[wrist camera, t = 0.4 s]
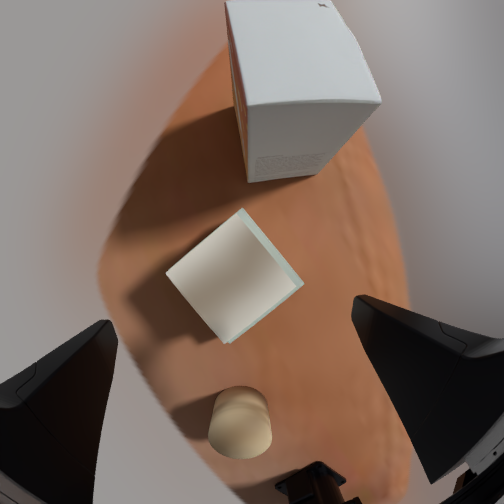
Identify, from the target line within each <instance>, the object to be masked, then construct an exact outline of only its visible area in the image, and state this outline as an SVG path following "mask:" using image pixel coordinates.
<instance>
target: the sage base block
mask: <svg viewBox="0 0 504 504" xmlns="http://www.w3.org/2000/svg"><path fill="white" fill-rule="evenodd" d="M235 214H236V213H235ZM235 214H234V215H235ZM234 215H233V216H234ZM237 215H238V216H239V217H240V218H241V219H242V221H243V222H244V223H245V224H246V225H247V227H248V228H249V229H250V230H251V232H252V233H253V234H254V235H255V236H256V238H257V239H258V240H259V241H260V242H261V244H262V245H263V246H264V247H265V249H266V250H267V251H268V252H269V253H270V255H271V256H272V257H273V258H274V260H275V261H276V262H277V263H278V264H279V266H280V267H281V268H282V269H283V271H284V272H285V273H286V274H287V275H288V277H289V278H290V279H291V280H292V282H293V283H294V284H295V285H296V287H295V288H294V289H293V290H292V291H290V292H289V293H288V294H287V295H286V296H284V297H283V298H282V299H281V300H280V301H278V302H277V303H276V304H275V305H273V306H272V307H271V308H270V309H268V310H267V311H266V312H265V313H264V314H262V315H261V316H260V317H258V318H257V319H256V320H255V321H253V322H252V323H251V324H250V325H248V326H247V327H246V328H244V329H243V330H242V331H241V332H239V333H238V334H237V335H235V336H234V337H233V338H232V339H230V340H229V341H228V343H229V344H230V343H231V342H232V341H234V340H235V339H236V338H238V337H239V336H240V335H242V334H243V333H244V332H246V331H247V330H248V329H249V328H251V327H252V326H253V325H255V324H256V323H257V322H258V321H260V320H261V319H262V318H263V317H265V316H266V315H267V314H268V313H270V312H271V311H272V310H273V309H275V308H276V307H277V306H278V305H280V304H281V303H282V302H283V301H284V300H286V299H287V298H288V297H289V296H291V295H292V294H293V293H294V292H295V291H297V290H298V289H299V288H300V287H301V286H303V285H304V282H303V281H302V280H301V279H300V277H299V276H298V275H297V274H296V272H295V271H294V270H293V269H292V267H291V266H290V265H289V264H288V263H287V261H286V260H285V259H284V258H283V256H282V255H281V254H280V253H279V251H278V250H277V249H276V248H275V247H274V245H273V244H272V243H271V242H270V240H269V239H268V238H267V237H266V236H265V234H264V233H263V232H262V231H261V229H260V228H259V227H258V226H257V225H256V223H255V222H254V221H253V220H252V219H251V217H250V216H249V215H248V214H247V213H246V211H245V210H244V209H243V208H241V209H240V210H239V211H238V212H237ZM233 216H232V217H233ZM230 218H231V217H230ZM230 218H229V219H230ZM229 219H228V220H229ZM228 220H227V221H228ZM225 222H226V221H225ZM225 222H224V223H225ZM224 223H223V224H224ZM223 224H222V225H223ZM222 225H221V226H222ZM219 227H220V226H219ZM219 227H218V228H219ZM218 228H217V229H218ZM217 229H216V230H217ZM213 232H214V231H213ZM213 232H212V233H213ZM212 233H211V234H212ZM211 234H210V235H211ZM207 237H208V236H207ZM207 237H206V238H207ZM206 238H205V239H206ZM205 239H204V240H205ZM201 242H202V241H201ZM201 242H200V243H201ZM200 243H199V244H200ZM199 244H198V245H199ZM198 245H197V246H198ZM195 247H196V246H195ZM195 247H194V248H195ZM194 248H193V249H194ZM193 249H192V250H193ZM192 250H191V251H192ZM188 253H189V252H188ZM188 253H187V254H188ZM187 254H186V255H187ZM186 255H185V256H186ZM185 256H184V257H185ZM181 259H182V258H181ZM181 259H180V260H181ZM180 260H179V261H180ZM179 261H178V262H179ZM178 262H177V263H178ZM174 265H175V264H174ZM174 265H173V266H174ZM173 266H172V267H173ZM172 267H171V268H172ZM171 268H170V269H171ZM170 269H169V270H170Z"/></svg>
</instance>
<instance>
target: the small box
mask: <svg viewBox="0 0 504 504" xmlns="http://www.w3.org/2000/svg"><path fill="white" fill-rule="evenodd" d="M225 14H226V24H227V35H228V46H229V57H230V68H231V78H232V92H233V102H234V109H235V113H236V117H237V122H238V128H239V133H240V139H241V145H242V151H243V157H244V163H245V170H246V176H247V182H248V183H253V182H259V181H266V180H273V179H281V178H289V177H297V176H306V175H316V174H318V173H319V172H320V171H321V170H322V169H323V168H324V166H325V165H326V164H327V163H328V162H329V161H330V160H331V159H332V158H333V156H334V155H335V154H336V153H337V152H338V151H339V150H340V148H341V147H342V146H343V145H344V144H345V143H346V142H347V141H348V140H349V139H350V138H351V136H352V135H353V134H354V133H355V132H356V131H357V130H358V129H359V127H360V126H361V125H362V124H363V123H364V122H365V121H366V120H367V119H368V117H370V115H371V114H372V113H373V112H374V111H375V110H376V109H377V108H378V107H379V106H380V105H381V103H382V100H381V97H380V94H379V91H378V88H377V86H376V84H375V81H374V79H373V76H372V74H371V72H370V69H369V67H368V65H367V63H366V61H365V58H364V56H363V54H362V51H361V49H360V47H359V44H358V42H357V40H356V38H355V37H354V35H353V34H352V32H351V30H350V29H349V28H348V26H347V25H346V23H345V21H344V20H343V18H342V16H341V15H340V13H339V12H338V10H337V9H336V7H335V5H334V4H333V2H332V1H329V0H233V1H226V2H225Z"/></svg>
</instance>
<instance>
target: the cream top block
mask: <svg viewBox="0 0 504 504" xmlns="http://www.w3.org/2000/svg"><path fill="white" fill-rule="evenodd" d="M166 275H167V276H168V277H169V279H170V280H171V281H172V282H173V284H174V285H175V286H176V287H177V289H178V290H179V291H180V292H181V294H182V295H183V296H184V297H185V299H186V300H187V301H188V302H189V303H190V305H191V306H192V307H193V308H194V309H195V311H196V312H197V313H198V314H199V315H200V317H201V318H202V319H203V320H204V321H205V322H206V324H207V325H208V326H209V327H210V328H211V329H212V331H213V332H214V333H215V334H216V335H217V336H218V337H219V338H220V340H221V341H222V342H223V343H224V344H225V343H226V342H228V341H229V340H230V339H232V338H233V337H234V336H235V335H237V334H238V333H239V332H241V331H242V330H243V329H244V328H246V327H247V326H248V325H250V324H251V323H252V322H253V321H255V320H256V319H257V318H258V317H260V316H261V315H262V314H264V313H265V312H266V311H267V310H268V309H270V308H271V307H272V306H273V305H275V304H276V303H277V302H278V301H280V300H281V299H282V298H283V297H284V296H286V295H287V294H288V293H289V292H290V291H292V290H293V289H294V288H295V287H296V285H295V284H294V283H293V282H292V280H291V279H290V278H289V277H288V275H287V274H286V273H285V272H284V271H283V269H282V268H281V267H280V266H279V264H278V263H277V262H276V261H275V260H274V258H273V257H272V256H271V255H270V253H269V252H268V251H267V250H266V249H265V247H264V246H263V245H262V244H261V242H260V241H259V240H258V239H257V238H256V236H255V235H254V234H253V233H252V232H251V230H250V229H249V228H248V227H247V225H246V224H245V223H244V222H243V221H242V219H241V218H240V217H239V216H238V215H237V213H236V214H235V215H234V216H233V217H231V218H230V219H229V220H228V221H226V222H225V223H224V224H223V225H222V226H220V227H219V228H218V229H217V230H215V231H214V232H213V233H212V234H211V235H209V236H208V237H207V238H206V239H205V240H203V241H202V242H201V243H200V244H199V245H198V246H196V247H195V248H194V249H193V250H192V251H190V252H189V253H188V254H187V255H186V256H185V257H183V258H182V259H181V260H180V261H179V262H178V263H176V264H175V265H174V266H173V267H172V268H171V269H170V270H168V271H167V272H166Z"/></svg>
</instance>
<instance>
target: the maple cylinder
mask: <svg viewBox="0 0 504 504" xmlns="http://www.w3.org/2000/svg"><path fill="white" fill-rule="evenodd" d="M208 440H209V443H210V444H211V446H212V447H213V448H214V449H215V450H216V451H217V452H218V453H220V454H222V455H224V456H226V457H230V458H234V459H248V458H253V457H256V456H258V455H260V454H262V453H263V452H265V451H266V450H267V449H268V447H269V446H270V444H271V441H272V432H271V425H270V418H269V411H268V404H267V401H266V398H265V397H264V396H263V395H262V394H261V393H260V392H259V391H257V390H256V389H254V388H251V387H247V386H234V387H230V388H227V389H225V390H224V391H222V392H221V393H220V394H219V395H218V396H217V398H216V400H215V404H214V408H213V413H212V418H211V423H210V427H209V432H208Z"/></svg>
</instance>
